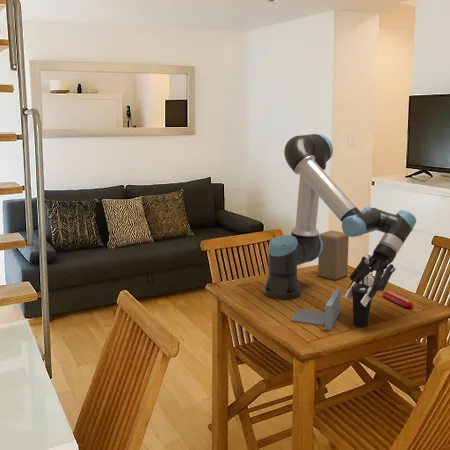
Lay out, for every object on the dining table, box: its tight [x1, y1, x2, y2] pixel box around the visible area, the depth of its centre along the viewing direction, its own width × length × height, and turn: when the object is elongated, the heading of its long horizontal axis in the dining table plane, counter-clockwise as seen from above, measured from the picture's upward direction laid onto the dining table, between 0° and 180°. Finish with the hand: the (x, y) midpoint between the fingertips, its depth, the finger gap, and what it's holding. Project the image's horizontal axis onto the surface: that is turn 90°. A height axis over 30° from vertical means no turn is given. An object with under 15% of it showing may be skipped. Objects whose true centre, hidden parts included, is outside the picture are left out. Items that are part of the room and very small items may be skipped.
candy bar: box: [382, 291, 415, 309], centre depth 220 cm, size 16×4×3 cm, turn 22°
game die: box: [358, 272, 374, 287], centre depth 231 cm, size 9×8×10 cm
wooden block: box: [317, 229, 350, 281], centre depth 251 cm, size 10×10×20 cm
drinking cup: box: [351, 270, 373, 328], centre depth 197 cm, size 8×8×20 cm
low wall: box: [324, 288, 342, 331], centre depth 202 cm, size 2×18×9 cm, turn 158°
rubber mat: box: [290, 308, 325, 327], centre depth 206 cm, size 12×12×1 cm
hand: (354, 301), depth 195 cm, fingers closed on drinking cup, 7 cm apart
